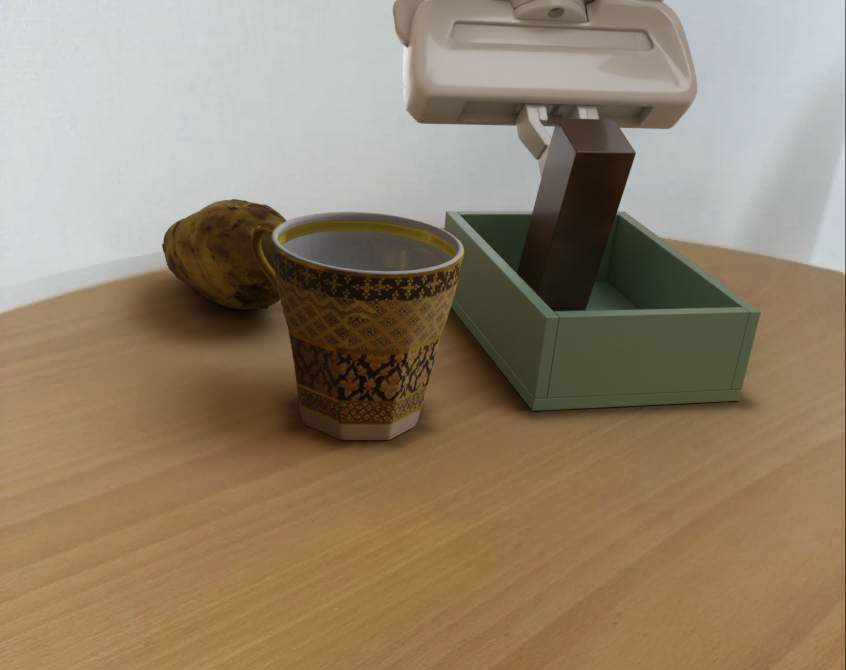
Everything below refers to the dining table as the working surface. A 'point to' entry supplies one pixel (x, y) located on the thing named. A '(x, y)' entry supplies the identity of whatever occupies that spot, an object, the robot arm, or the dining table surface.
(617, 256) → the bin
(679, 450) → the dining table surface
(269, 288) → the potato
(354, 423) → the ceramic cup
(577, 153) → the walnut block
